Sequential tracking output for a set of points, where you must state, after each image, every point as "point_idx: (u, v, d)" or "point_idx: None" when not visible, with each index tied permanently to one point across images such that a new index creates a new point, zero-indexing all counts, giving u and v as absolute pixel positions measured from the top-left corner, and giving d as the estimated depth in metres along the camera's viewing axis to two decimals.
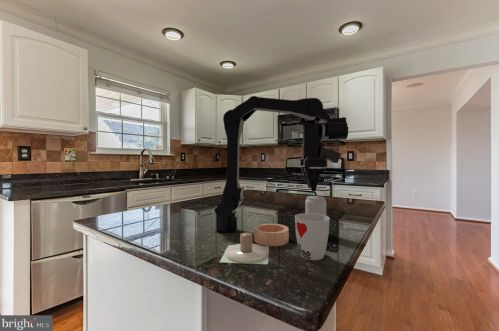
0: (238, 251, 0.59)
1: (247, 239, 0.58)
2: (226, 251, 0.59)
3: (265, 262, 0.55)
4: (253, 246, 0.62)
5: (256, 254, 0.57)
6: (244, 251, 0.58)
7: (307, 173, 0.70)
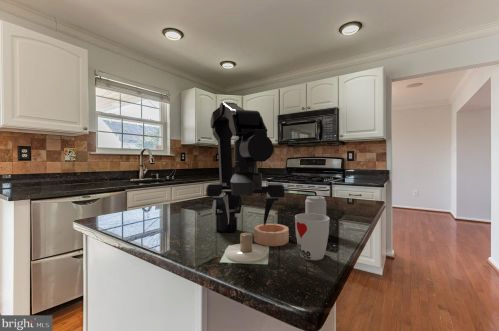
0: (238, 251, 0.59)
1: (247, 239, 0.58)
2: (226, 251, 0.59)
3: (265, 262, 0.55)
4: (253, 246, 0.62)
5: (256, 254, 0.57)
6: (244, 251, 0.58)
7: None
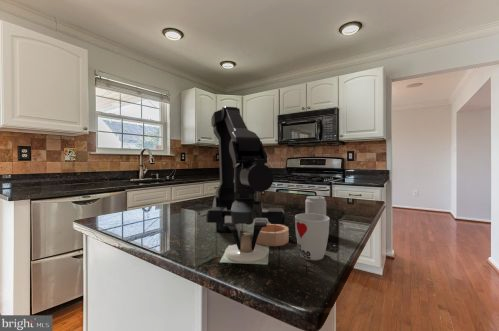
0: (238, 251, 0.59)
1: (247, 239, 0.58)
2: (226, 251, 0.59)
3: (265, 262, 0.55)
4: None
5: (256, 254, 0.57)
6: (244, 251, 0.58)
7: None
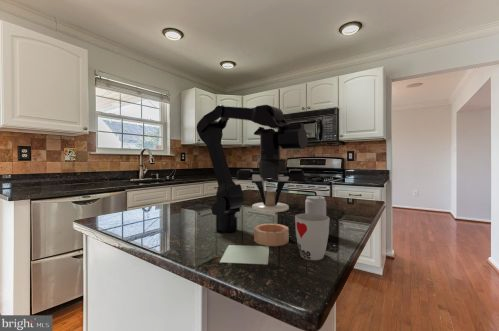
0: (263, 205, 0.69)
1: (271, 195, 0.68)
2: (253, 205, 0.69)
3: (265, 262, 0.55)
4: None
5: (279, 207, 0.67)
6: (269, 205, 0.68)
7: None
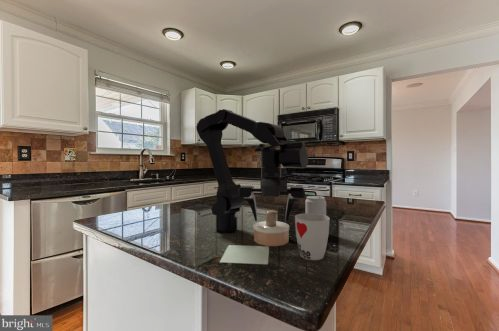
0: (264, 226, 0.69)
1: (272, 215, 0.68)
2: (254, 226, 0.69)
3: (265, 262, 0.55)
4: (276, 222, 0.73)
5: (280, 227, 0.67)
6: (270, 225, 0.68)
7: None
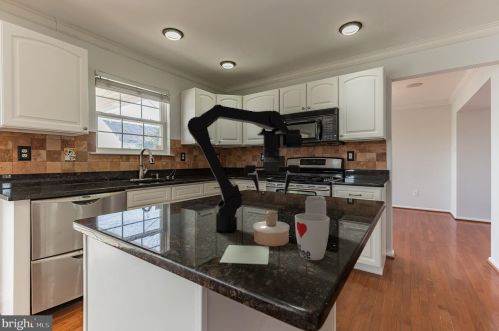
0: (264, 226, 0.69)
1: (272, 215, 0.68)
2: (254, 226, 0.69)
3: (265, 262, 0.55)
4: (276, 222, 0.73)
5: (280, 227, 0.67)
6: (270, 225, 0.68)
7: None
